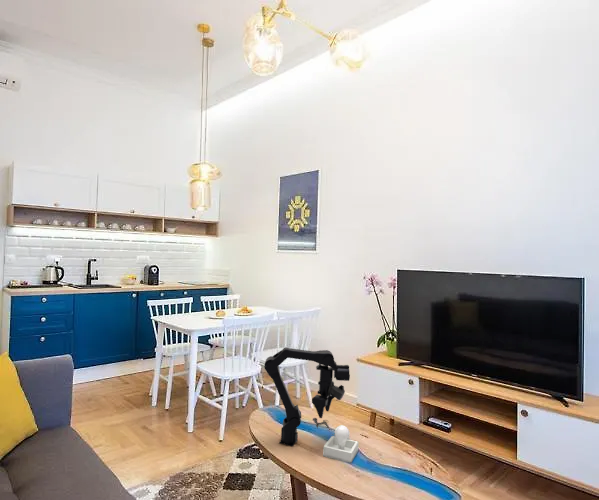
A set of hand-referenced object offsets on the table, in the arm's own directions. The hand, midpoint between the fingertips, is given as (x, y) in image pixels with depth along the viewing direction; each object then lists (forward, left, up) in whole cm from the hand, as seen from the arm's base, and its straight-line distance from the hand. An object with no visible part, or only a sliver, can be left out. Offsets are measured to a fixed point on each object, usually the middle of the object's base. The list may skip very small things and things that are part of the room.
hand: (324, 414), depth 186 cm
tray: (+10, -5, -13) cm, 17 cm away
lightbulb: (+10, -5, -12) cm, 17 cm away
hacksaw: (-3, +17, -14) cm, 22 cm away
